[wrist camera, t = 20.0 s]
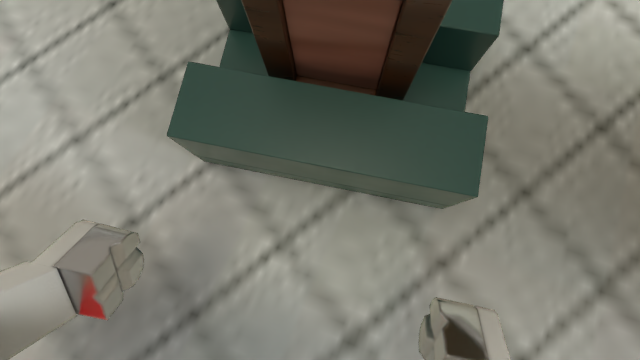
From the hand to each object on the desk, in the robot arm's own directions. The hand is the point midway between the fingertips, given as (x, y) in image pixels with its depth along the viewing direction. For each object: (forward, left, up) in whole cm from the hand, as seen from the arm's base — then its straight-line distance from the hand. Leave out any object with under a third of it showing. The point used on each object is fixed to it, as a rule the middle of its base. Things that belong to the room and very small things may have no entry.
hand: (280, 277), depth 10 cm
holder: (-5, -7, -7) cm, 11 cm away
